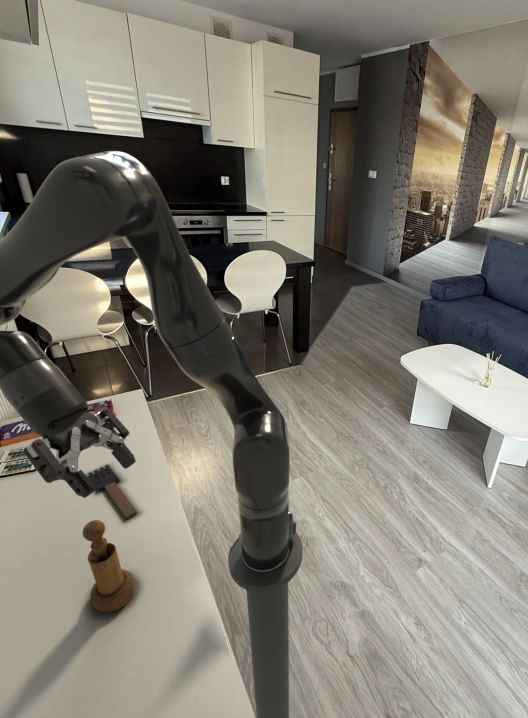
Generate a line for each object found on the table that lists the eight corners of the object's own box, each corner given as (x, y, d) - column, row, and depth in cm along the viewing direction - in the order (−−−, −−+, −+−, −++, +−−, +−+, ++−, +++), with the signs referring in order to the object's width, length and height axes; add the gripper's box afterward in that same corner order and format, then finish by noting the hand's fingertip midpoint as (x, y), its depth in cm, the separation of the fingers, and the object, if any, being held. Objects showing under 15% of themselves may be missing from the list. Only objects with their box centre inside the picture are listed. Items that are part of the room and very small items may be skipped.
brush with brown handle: (142, 510, 87) (142, 507, 86) (121, 522, 84) (120, 519, 83) (108, 466, 98) (107, 464, 97) (88, 475, 94) (87, 473, 94)
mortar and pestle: (143, 584, 73) (125, 515, 65) (114, 618, 67) (90, 548, 59) (114, 571, 74) (93, 503, 66) (83, 604, 69) (56, 534, 61)
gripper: (13, 398, 52) (92, 493, 54) (96, 370, 66) (157, 446, 68) (-21, 426, 54) (57, 518, 55) (67, 393, 68) (127, 467, 69)
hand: (112, 478), depth 62 cm, fingers open, 8 cm apart
